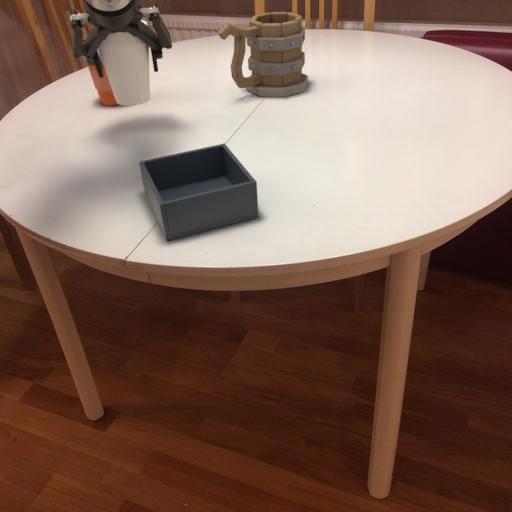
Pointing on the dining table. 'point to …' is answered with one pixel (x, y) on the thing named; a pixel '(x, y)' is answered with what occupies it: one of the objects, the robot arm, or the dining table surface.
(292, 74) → the tankard
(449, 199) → the dining table surface
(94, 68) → the cup with straw
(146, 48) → the foam cup
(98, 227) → the dining table surface
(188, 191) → the bin
